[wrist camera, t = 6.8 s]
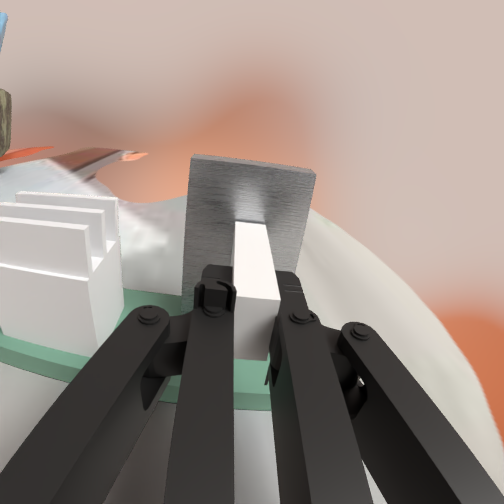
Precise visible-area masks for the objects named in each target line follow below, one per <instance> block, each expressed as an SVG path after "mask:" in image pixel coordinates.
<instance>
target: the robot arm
mask: <svg viewBox="0 0 504 504" xmlns="http://www.w3.org/2000/svg"><path fill="white" fill-rule="evenodd" d="M7 20H8V16H7V14H6V13H1V12H0V51H1V47H2V43H3V38H4V33H5V29H6V23H7ZM268 353H269V355H270V363H269V367H268V371H267V375H266V379H265V383H264V385H267V384H268V381H269V390H270V400H271V411H272V421H273V432H274V442H275V453H276V463H277V474H278V485H279V495H280V504H373V500H372V496H371V492H370V488H369V485H368V481H367V477H366V473H365V470H364V466H363V462H364V464H365V465H366V467H367V469H368V471H369V472H370V474H371V476H372V478H373V479H374V481H375V483H376V485H377V486H378V488H379V490H380V492H381V493H382V495H383V497H384V498H385V500H386V502H387V504H504V496H503V495H502V493H501V492H500V490H499V489H498V488H497V486H496V485H495V483H494V482H493V481H492V479H491V478H490V476H489V475H488V474H487V472H486V471H485V469H484V468H483V467H482V465H481V464H480V463H479V461H478V460H477V459H476V457H475V456H474V454H473V453H472V452H471V450H470V449H469V448H468V446H467V445H466V444H465V442H464V441H463V440H462V438H461V437H460V436H459V435H458V433H457V432H456V431H455V429H454V428H453V427H452V425H451V424H450V423H449V422H448V420H447V419H446V418H445V416H444V415H443V414H442V413H441V411H440V410H439V409H438V407H437V406H436V405H435V404H434V402H433V401H432V400H431V399H430V397H429V396H428V395H427V393H426V392H425V391H424V390H423V388H422V387H421V386H420V385H419V383H418V382H417V381H416V380H415V379H414V377H413V376H412V375H411V374H410V372H409V371H408V370H407V369H406V367H405V366H404V365H403V364H402V363H401V361H400V360H399V359H398V358H397V356H396V355H395V354H394V353H393V352H392V350H391V349H390V348H389V347H388V346H387V344H386V343H385V342H384V341H383V340H382V338H381V337H380V336H379V335H378V334H377V332H376V331H375V330H373V329H372V328H371V327H370V326H368V325H366V324H364V323H360V322H349V323H346V324H345V325H344V326H343V327H342V329H341V331H340V330H336V329H332V328H329V327H326V326H323V325H321V323H320V320H319V318H318V316H317V315H316V314H315V313H313V312H312V311H310V310H309V309H308V306H307V303H306V299H305V296H304V293H303V290H302V287H301V283H300V280H299V278H298V277H297V276H296V275H295V274H294V273H293V272H289V271H279V270H275V269H274V264H273V259H272V254H271V249H270V244H269V239H268V235H267V230H266V225H262V224H254V223H245V222H235V230H234V237H233V245H232V254H231V262H230V266H223V265H213V264H208V265H207V266H206V267H205V268H204V269H203V271H202V276H201V281H200V282H198V283H197V284H196V285H195V287H194V305H193V310H192V311H190V312H188V313H186V314H183V315H178V316H169V313H168V312H167V311H166V310H165V309H163V308H161V307H159V306H154V305H143V306H140V307H137V308H135V309H134V310H132V311H131V312H130V313H129V314H128V315H127V316H126V318H125V319H124V320H123V321H122V322H121V323H120V324H119V326H118V327H117V328H116V329H115V330H114V331H113V332H112V334H111V335H110V336H109V337H108V338H107V339H106V341H105V342H104V343H103V344H102V345H101V346H100V348H99V349H98V350H97V351H96V352H95V354H94V355H93V356H92V357H91V358H90V359H89V361H88V362H87V363H86V364H85V365H84V367H83V368H82V369H81V370H80V371H79V373H78V374H77V375H76V376H75V377H74V379H73V380H72V381H71V382H70V384H69V385H68V386H67V387H66V389H65V390H64V391H63V392H62V393H61V395H60V396H59V397H58V398H57V400H56V401H55V402H54V403H53V405H52V406H51V407H50V408H49V410H48V411H47V412H46V414H45V415H44V416H43V417H42V419H41V420H40V421H39V423H38V424H37V425H36V426H35V428H34V429H33V430H32V432H31V433H30V434H29V436H28V437H27V438H26V439H25V441H24V442H23V443H22V445H21V446H20V447H19V449H18V450H17V451H16V453H15V454H14V456H13V457H12V458H11V460H10V461H9V462H8V464H7V465H6V466H5V468H4V469H3V471H2V472H1V473H0V504H103V502H104V500H105V498H106V496H107V495H108V493H109V491H110V489H111V487H112V485H113V483H114V482H115V480H116V478H117V476H118V474H119V472H120V471H121V469H122V467H123V465H124V463H125V461H126V460H127V458H128V456H129V454H130V452H131V450H132V449H133V447H134V445H135V443H136V441H137V439H138V438H139V436H140V434H141V432H142V430H143V428H144V427H145V425H146V423H147V421H148V419H149V417H150V416H151V414H152V412H153V410H154V408H155V407H156V405H157V403H158V401H159V399H160V397H161V396H162V394H163V392H164V390H165V388H166V387H167V385H168V383H169V381H170V379H171V376H176V375H181V381H180V388H179V394H178V400H177V407H176V413H175V420H174V427H173V434H172V441H171V448H170V456H169V463H168V471H167V479H166V487H165V496H164V504H234V359H244V360H258V361H267V358H268ZM360 378H361V379H362V381H363V382H364V385H363V384H362V383H361V381H360V380H359V379H360ZM361 458H362V459H361ZM362 460H363V462H362Z"/></svg>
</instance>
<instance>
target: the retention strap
mask: <svg viewBox="0 0 504 504" xmlns="http://www.w3.org/2000/svg"><path fill="white" fill-rule="evenodd" d="M315 179H316V174H315V173H314V172H313V171H312V170H311V169H306V168H300V167H294V166H287V165H281V164H273V163H266V162H260V161H252V160H245V159H237V158H228V157H219V156H210V155H200V154H194V155H193V156H192V157H191V162H190V173H189V183H188V195H187V208H186V221H185V237H184V254H183V275H182V303H181V314H186V313H188V312H190V311H192V310H193V305H194V287H195V285H196V284H197V283H198V282H200V281H201V276H202V271H203V269H204V268H205V267H206V266H207V265H208V264H213V265H223V266H230V262H231V254H232V245H233V237H234V230H235V222H245V223H254V224H262V225H266V230H267V235H268V239H269V244H270V249H271V254H272V259H273V264H274V269H275V270H279V271H289V272H293V273H294V274H295V271H296V266H297V262H298V258H299V253H300V249H301V245H302V240H303V236H304V231H305V227H306V222H307V218H308V213H309V208H310V204H311V199H312V194H313V189H314V184H315Z"/></svg>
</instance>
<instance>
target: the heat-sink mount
mask: <svg viewBox="0 0 504 504" xmlns="http://www.w3.org/2000/svg"><path fill="white" fill-rule="evenodd" d="M181 303H182V296H177V295H169V294H161V293H153V292H145V291H138V290H131V289H124V288H123V282H122V267H121V246H120V236H119V226H118V198H116V197H103V196H90V195H75V194H60V193H43V192H24V191H19V192H18V193H16V203H10V202H1V203H0V361H1V362H3V363H6V364H9V365H12V366H15V367H18V368H21V369H24V370H27V371H30V372H33V373H37V374H40V375H43V376H47V377H50V378H54V379H57V380H61V381H65V382H69V383H70V382H71V381H72V380H73V379H74V377H75V376H76V375H77V374H78V373H79V371H80V370H81V369H82V368H83V367H84V365H85V364H86V363H87V362H88V361H89V359H90V358H91V357H92V356H93V355H94V354H95V352H96V351H97V350H98V349H99V348H100V346H101V345H102V344H103V343H104V342H105V341H106V339H107V338H108V337H109V336H110V335H111V334H112V332H113V331H114V330H115V329H116V328H117V327H118V326H119V324H120V323H121V322H122V321H123V320H124V319H125V318H126V316H127V315H128V314H129V313H130V312H131V311H132V310H134V309H135V308H137V307H140V306H143V305H154V306H159V307H161V308H163V309H165V310H166V311H167V312H168V313H169V316H178V315H183V314H181ZM269 363H270V355H269V353H268V358H267V361H258V360H244V359H234V409H244V410H267V411H271V400H270V390H269V381H268V384H267V385H264V383H265V379H266V375H267V371H268V367H269ZM180 381H181V375H176V376H171V379H170V381H169V383H168V385H167V387H166V388H165V390H164V392H163V394H162V396H161V397H160V399H159V401H164V402H171V403H177V400H178V394H179V388H180Z"/></svg>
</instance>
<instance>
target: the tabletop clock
mask: <svg viewBox="0 0 504 504" xmlns="http://www.w3.org/2000/svg"><path fill="white" fill-rule="evenodd" d="M10 140H11V95H10V94H9V93H8V92H6V91H5V90H3V89H0V157H1V156H3V155H4V154H5V153H6V151H7V150H8V149H9V147H10Z"/></svg>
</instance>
